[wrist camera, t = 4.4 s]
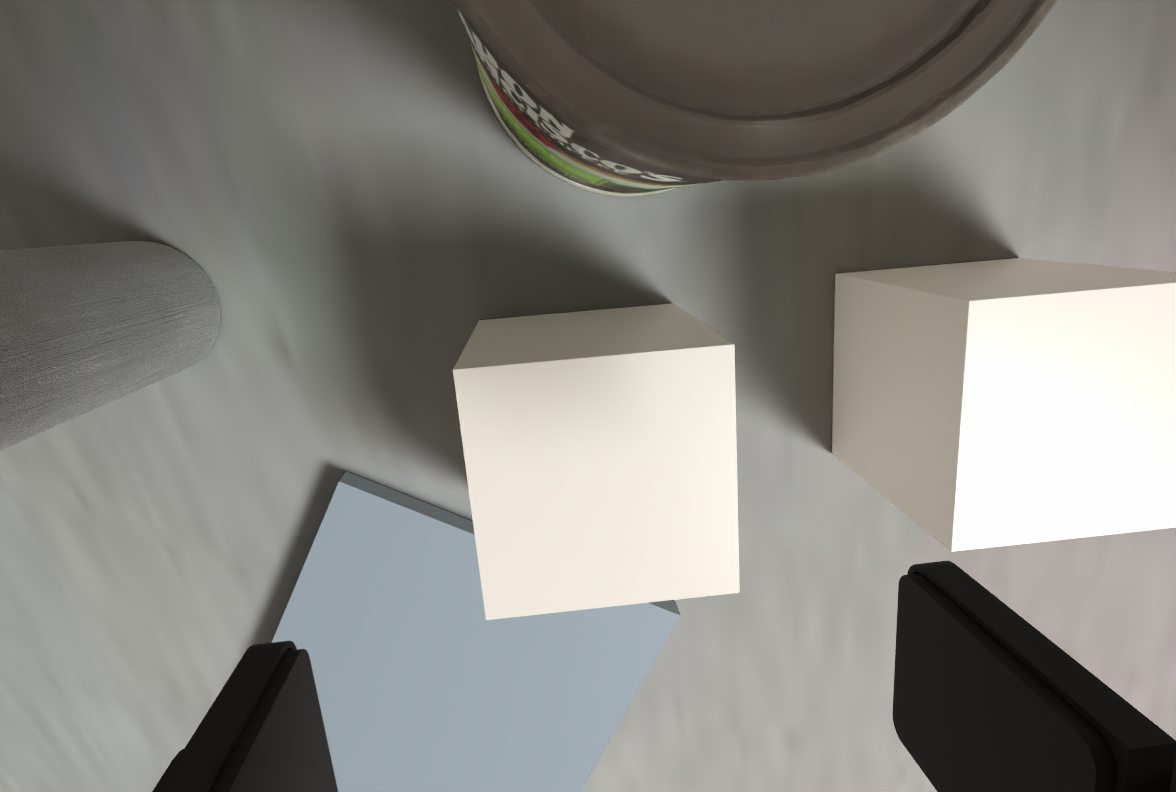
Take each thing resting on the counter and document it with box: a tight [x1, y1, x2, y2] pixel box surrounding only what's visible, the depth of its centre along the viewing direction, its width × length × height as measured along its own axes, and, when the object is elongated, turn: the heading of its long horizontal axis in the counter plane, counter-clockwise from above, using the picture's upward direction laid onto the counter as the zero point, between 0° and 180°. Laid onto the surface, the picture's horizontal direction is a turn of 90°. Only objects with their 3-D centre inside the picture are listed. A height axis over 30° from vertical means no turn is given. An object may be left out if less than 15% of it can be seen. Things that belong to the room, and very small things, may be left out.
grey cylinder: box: [0, 241, 221, 451], centre depth 19 cm, size 4×4×10 cm
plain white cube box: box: [832, 258, 1176, 552], centre depth 22 cm, size 7×7×8 cm
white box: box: [453, 303, 739, 620], centre depth 22 cm, size 7×7×8 cm
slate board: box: [272, 471, 680, 792], centre depth 28 cm, size 14×14×1 cm
